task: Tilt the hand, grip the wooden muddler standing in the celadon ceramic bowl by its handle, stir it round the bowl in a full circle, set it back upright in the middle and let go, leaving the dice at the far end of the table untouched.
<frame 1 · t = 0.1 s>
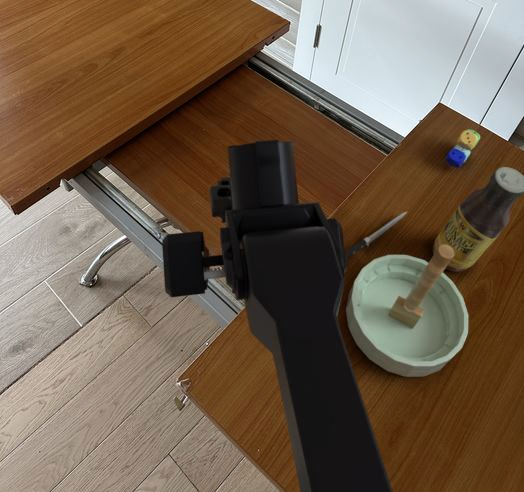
hand: (245, 252, 62), 13 cm above the table, tool tilted 35°, fingers open, 9 cm apart
wooden muddler: (401, 318, 70), point 1 cm above the table, touching bowl
bowl: (400, 320, 71), on the table
knife: (373, 240, 79), on the table
sauce bottle: (451, 257, 78), on the table
dice: (457, 159, 92), on the table
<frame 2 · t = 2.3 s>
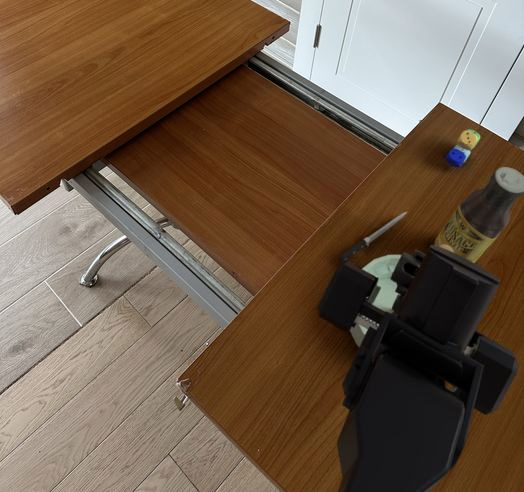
hand: (414, 310, 59), 12 cm above the table, tool tilted 45°, fingers open, 9 cm apart
nothing on the table moved.
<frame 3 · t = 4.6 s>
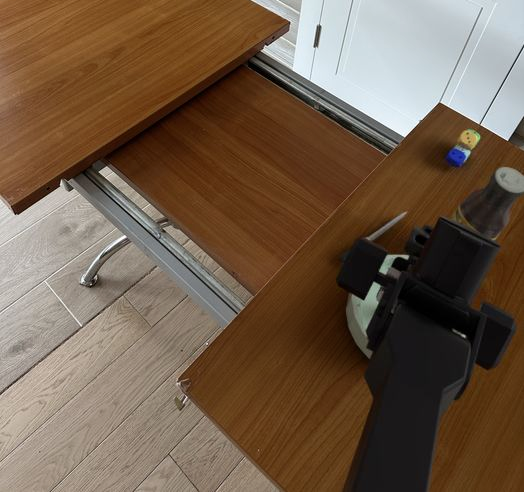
hand: (422, 283, 65), 9 cm above the table, tool tilted 45°, fingers closed on wooden muddler, 2 cm apart
wooden muddler: (401, 318, 70), point 1 cm above the table, touching bowl, gripper
everything else where it was.
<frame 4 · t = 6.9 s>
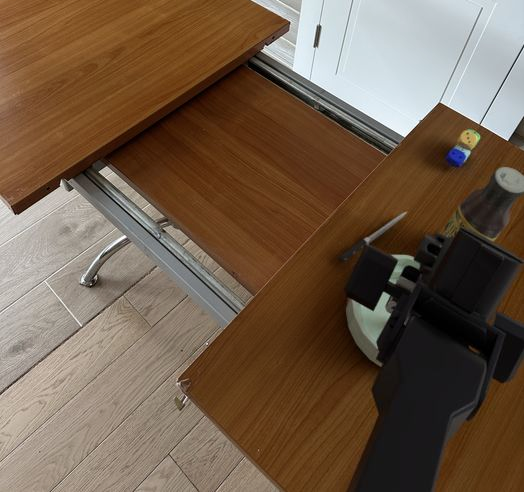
hand: (432, 291, 63), 10 cm above the table, tool tilted 45°, fingers closed on wooden muddler, 2 cm apart
wooden muddler: (410, 327, 69), point 2 cm above the table, touching gripper
everything else where it was.
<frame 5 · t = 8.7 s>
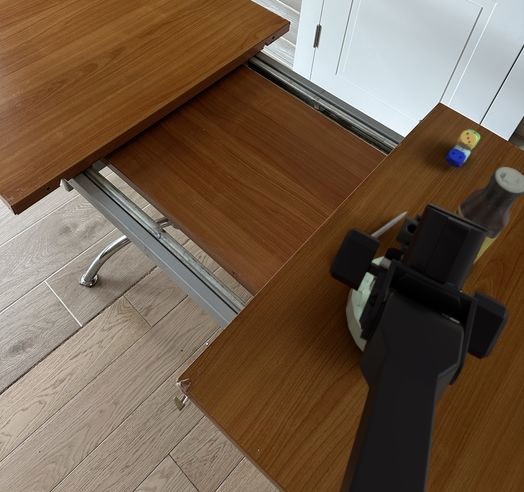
hand: (416, 275, 66), 9 cm above the table, tool tilted 45°, fingers closed on wooden muddler, 2 cm apart
wooden muddler: (395, 310, 71), point 1 cm above the table, touching gripper
everything else where it was.
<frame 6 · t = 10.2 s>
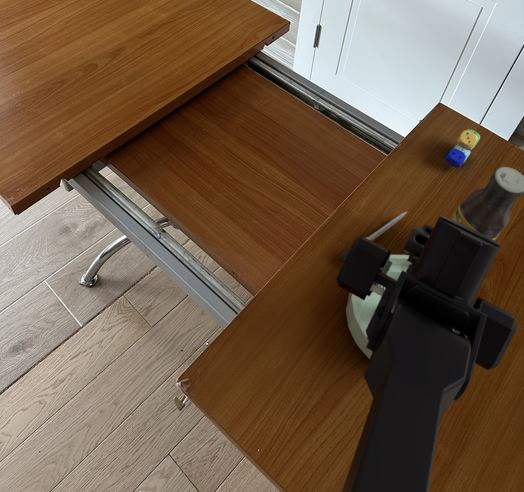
hand: (422, 283, 65), 9 cm above the table, tool tilted 45°, fingers open, 9 cm apart
wooden muddler: (401, 318, 70), point 1 cm above the table, touching bowl
everything else where it was.
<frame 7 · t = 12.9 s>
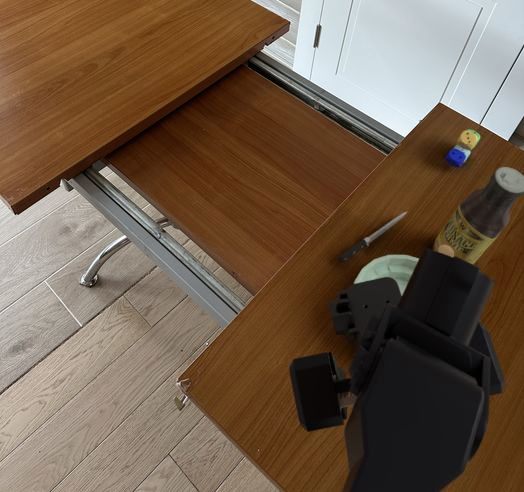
hand: (386, 368, 56), 11 cm above the table, tool tilted 25°, fingers open, 9 cm apart
nothing on the table moved.
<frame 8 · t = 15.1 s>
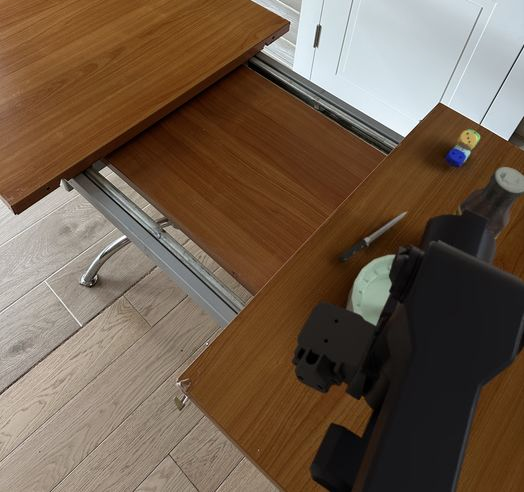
hand: (367, 413, 51), 13 cm above the table, tool pointing down, fingers open, 9 cm apart
nothing on the table moved.
at the end: wooden muddler inside the target area in the bowl (0.0 cm from its centre), point 0.6 cm above the bowl's base; the gripper is holding nothing; dice moved 0.2 cm from its start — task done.
